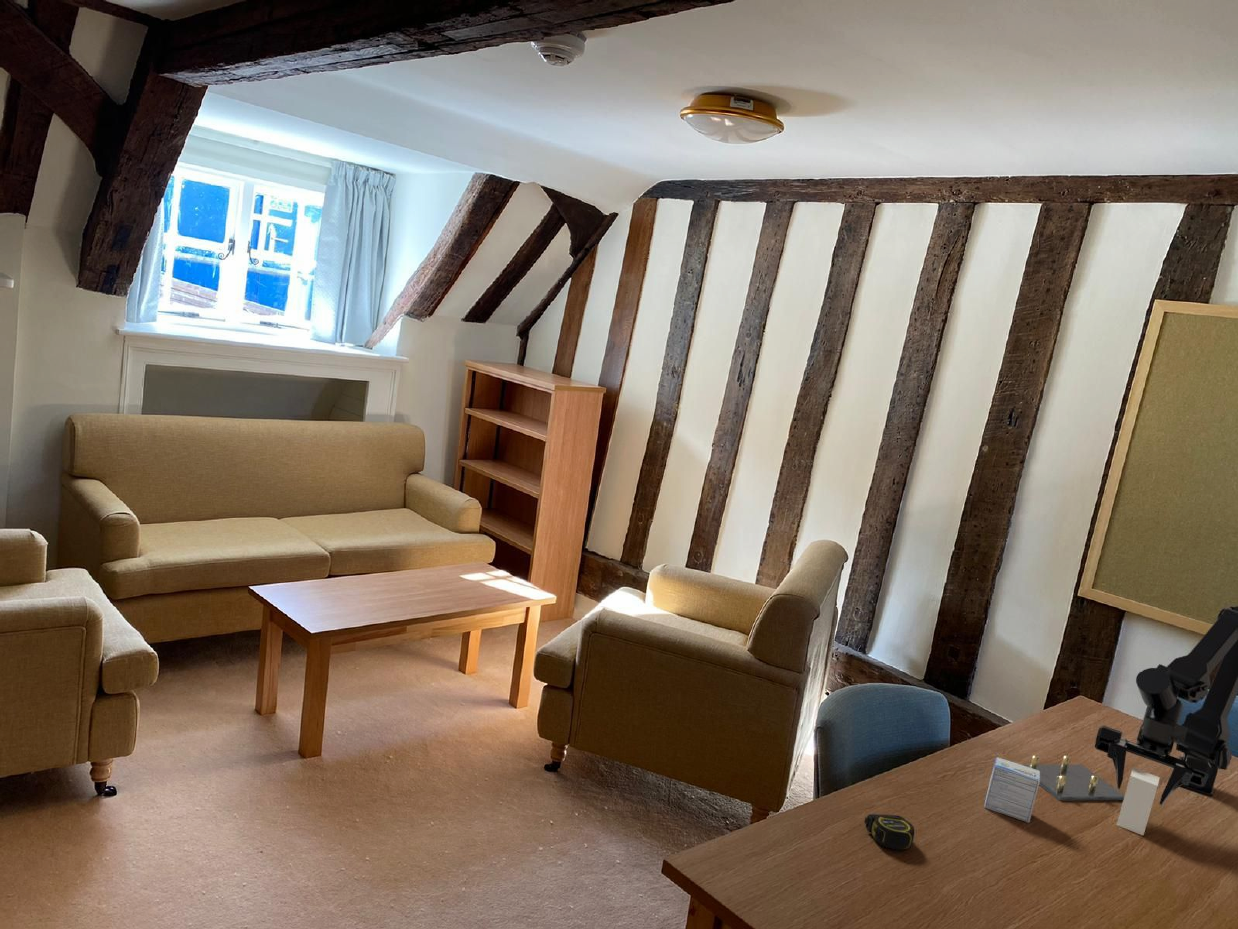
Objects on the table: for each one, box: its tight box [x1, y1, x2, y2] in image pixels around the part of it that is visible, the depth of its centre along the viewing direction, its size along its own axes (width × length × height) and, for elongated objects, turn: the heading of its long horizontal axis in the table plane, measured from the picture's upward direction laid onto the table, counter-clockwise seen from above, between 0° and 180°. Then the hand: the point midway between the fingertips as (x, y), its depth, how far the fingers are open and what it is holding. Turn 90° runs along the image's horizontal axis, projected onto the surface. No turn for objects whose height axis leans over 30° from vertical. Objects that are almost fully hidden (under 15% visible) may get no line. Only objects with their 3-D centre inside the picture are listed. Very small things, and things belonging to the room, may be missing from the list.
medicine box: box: [983, 756, 1040, 823], centre depth 175 cm, size 8×4×9 cm, turn 65°
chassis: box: [1022, 754, 1125, 802], centre depth 191 cm, size 16×12×4 cm
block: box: [1116, 767, 1161, 836], centre depth 177 cm, size 4×4×10 cm
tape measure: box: [863, 813, 915, 851], centre depth 159 cm, size 7×7×4 cm
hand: (1139, 796), depth 176 cm, fingers open, 7 cm apart
